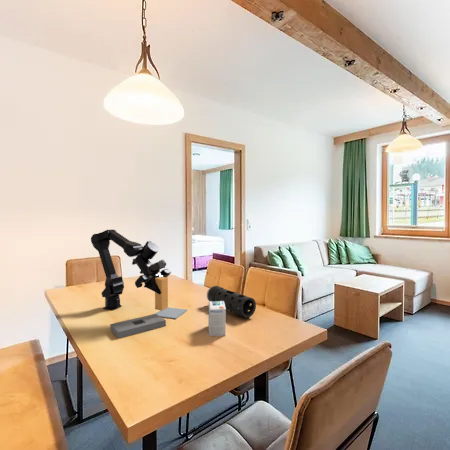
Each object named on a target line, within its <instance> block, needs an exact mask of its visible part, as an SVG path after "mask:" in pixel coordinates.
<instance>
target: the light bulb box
mask: <svg viewBox="0 0 450 450" xmlns="http://www.w3.org/2000/svg"><path fill="white" fill-rule="evenodd" d="M226 310H227V309H226V307H225V304H224V301H209V300H208V337H216V336H217V337H218V336H219V337H222V336H223V337H225V336H226V332H227V331H226V321H227V320H226V316H227V311H226Z"/></svg>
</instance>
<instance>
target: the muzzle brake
mask: <svg viewBox="0 0 450 450" xmlns="http://www.w3.org/2000/svg"><path fill="white" fill-rule="evenodd" d="M206 298H207V300H208V302H209V301H224V304H225V307H226V310H228V311H230V313H233V314H234V315H236V316H239V317H241V318H243V319H246V320H249V319H250V318H251V317H252V316H253V315H254V313H255V311H256V308H257V303H256V300H255V299H254V298H253V297H250V296H247V295H245V294H243V293H242V294H240V293H238V292H235V291H232V290H229V289H227V288H224V287H222V286H219V285H212V286H211V287H209V288H208V290H207V292H206Z"/></svg>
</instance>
